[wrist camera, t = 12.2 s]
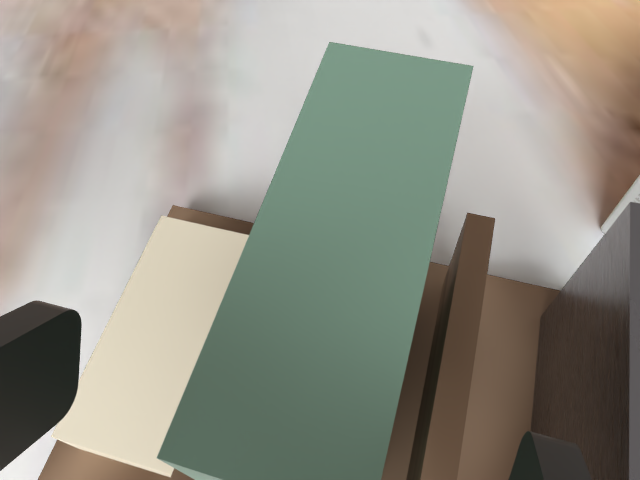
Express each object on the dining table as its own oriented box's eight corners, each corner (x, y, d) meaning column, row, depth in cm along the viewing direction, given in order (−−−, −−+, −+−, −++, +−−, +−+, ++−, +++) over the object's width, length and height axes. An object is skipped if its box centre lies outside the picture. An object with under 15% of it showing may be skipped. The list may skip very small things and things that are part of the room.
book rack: (48, 497, 23) (-68, 470, 17) (180, 220, 30) (134, 125, 23) (605, 682, 19) (736, 742, 13) (612, 318, 26) (701, 236, 19)
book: (266, 519, 21) (156, 458, 9) (337, 288, 26) (329, 41, 14) (356, 550, 20) (370, 528, 8) (412, 306, 25) (473, 66, 13)
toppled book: (77, 448, 23) (51, 436, 20) (175, 242, 27) (161, 215, 25) (191, 484, 22) (175, 475, 20) (271, 264, 26) (265, 238, 24)
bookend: (515, 602, 19) (628, 626, 12) (540, 316, 25) (630, 201, 17) (550, 613, 19) (690, 646, 11) (569, 323, 24) (672, 209, 17)
